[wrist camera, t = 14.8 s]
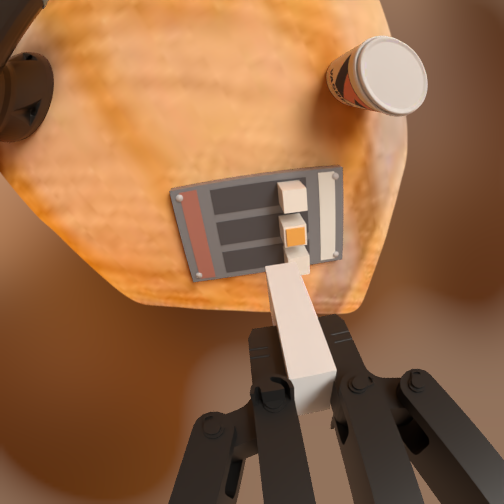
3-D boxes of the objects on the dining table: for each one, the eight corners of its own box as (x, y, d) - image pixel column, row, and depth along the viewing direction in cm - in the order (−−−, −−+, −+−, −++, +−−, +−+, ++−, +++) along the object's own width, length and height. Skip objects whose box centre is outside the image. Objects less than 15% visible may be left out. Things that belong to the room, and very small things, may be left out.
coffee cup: (307, 67, 30) (340, 51, 20) (358, 42, 28) (403, 25, 18) (342, 122, 34) (385, 131, 24) (389, 95, 32) (441, 98, 22)
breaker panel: (194, 276, 45) (190, 298, 40) (171, 188, 37) (162, 200, 32) (339, 254, 45) (351, 273, 40) (338, 165, 37) (354, 174, 32)
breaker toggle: (280, 235, 40) (285, 249, 36) (278, 215, 39) (283, 228, 35) (300, 232, 40) (307, 245, 36) (299, 212, 39) (306, 225, 35)
